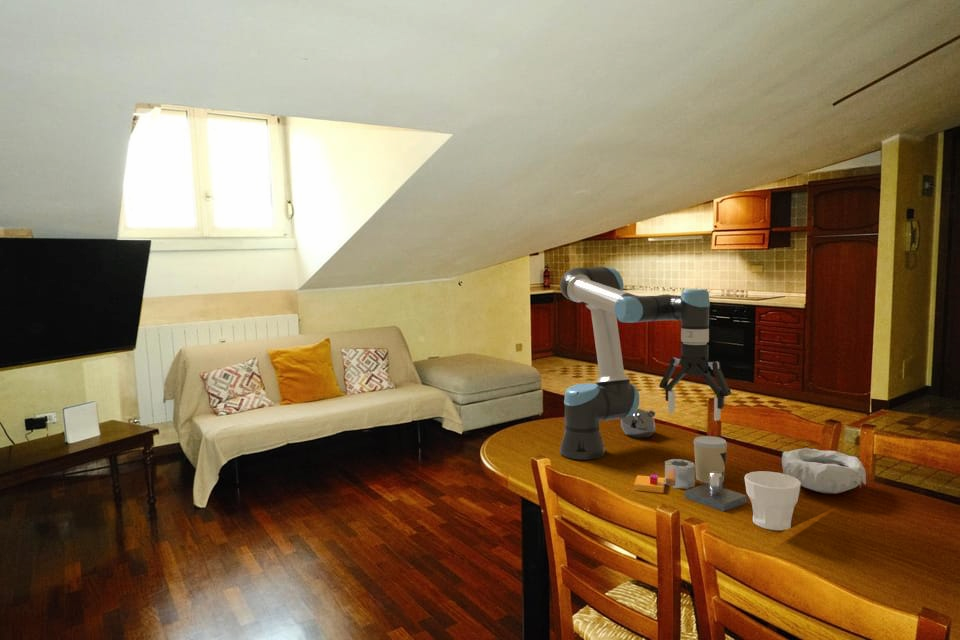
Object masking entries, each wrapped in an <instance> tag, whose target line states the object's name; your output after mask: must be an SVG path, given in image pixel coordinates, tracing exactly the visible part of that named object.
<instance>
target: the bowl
mask: <svg viewBox="0 0 960 640" xmlns="http://www.w3.org/2000/svg"><path fill="white" fill-rule="evenodd" d="M781 466H782V470H783V471H782V474H786V475H790V476H792V477H794V478H797V479H798V480H799V481H800V482H801V485H800V487H803V488H805V489H808V490H811V491H815V492H817V493H818V492H819V493H820V494H835V495H836V494H840V493H844V492H846V491H849V490H852V489H854V488H857V487H858V486H859V487H861V484H862V483H863V484H864V485H866V484H867V481H866V478H867V473H866V469H865V467H864V466H863V463H862V461H860V459H859V457H857V456H853V455H848V454H846V453H842V452H840V451H836V450H819V449H817V448H812V449H811V448H808V447H804V448H799V449H793V450H789V451H786V450H785V451H783V452H782V456H781Z"/></svg>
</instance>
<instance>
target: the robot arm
mask: <svg viewBox="0 0 960 640" xmlns="http://www.w3.org/2000/svg"><path fill="white" fill-rule="evenodd" d="M624 287H625V286H624V281H623V277H622V275H621V273H620V272H619V271H618V270H617V269H615V268H614V267H606V266H593V267H592V266H591V267H590V266H589V267H588V266H587V267H586V266H585V267H573V268H570V269H568V270H567V271H566V272H565V273H564V274H563V275H562V277H561V279H560V281H559V289H560V292H561V293H562V296H564V298H566V299H567V300H569V301H572V302H575V303H585V307H586V308H587V309H588V310H590V314H591V322H592V328H593V336H594V344H595V351H596V359H597V360H596V361H597V367H598V373H599V374H598V375H599V377H598V379H597V380H596V382H595V383H593V382H587V383H577V384H574V385H571V386H569V387H567V389H566V390H564V391H565V392H564V400H563V404H564V433H563V437H562V440H561V444H560V446H559V454H560V455H561V456H563V457H565V458H568V459H572V460H595V459H601V457H603V456H605V453H606V452H605V451H606V450H605V448H606V447H605V445H604V442H603V439H602V436H601V432H600V422H603V421H611V420H621V419H623V418H626V417H630V416H632V415H634V414H635V412H636V410H637V409H638V408H639V406H640V393H639V390H638V389H637V387H636V385H634V384H632V383H631V382H630V381H631V380H630V377H629V376H627V375H626V374H625V369H624V364H623V363H624V362H623V355H622V348H621V347H622V346H621V341H620V340H621V339H620V333H619V326H618V321H619V322H621V323H624V324H625V323H628V324H629V323H630V324H633V323H644V322H645V323H646V322H658V321H659V322H660V321H661V322H662V321H677V322H678V321H679V322H681V323H680V329H681V330H680V341H681V342H682V343H681V344H680V358H678V357H672V358H670V359H669V363H668V364H669V366H668V367H667V369H666V372H665V373H664V375H663V377H662V379H661V381H660V383H659V385H658V387H659V388H661V389H664V391H665V401H666V402H667V403H668V405H667V414H672V413H674V412H676V411H675V407H676V406H675V405H676V404H675V403H676V397H675V396H676V390H675V389H674V387H675V386H676V385H677V384H678V383H679V382H680V381H681V380H682V379H683V377H685V376H686V375H687V376H694V377H701V378H702V379H704V381H705V382H706V384H707V385H708V386H709V388H710V389H711V390H712V391H713V392H714V394H715V397H714V399H713V405H714V406H713V421H719V420H721V411H722V409H724V408H725V407H724V406H725V397H728V396H731V395H732V391H731V389H730V386H729V384H728V382H727V380H726V378H725V376H724V373H723V372H722V370H721V362H720V361H718V360H717V361H710V360H709V349H710V348H709V347H710V345H709V344H708V343H709V341H710V326H709V325H710V307H711V305H710V304H711V302H710V294H709V293H710V292H709V291H708V290H707V289H704V288H699V289H698V288H691V289H689V288H688V289H687V288H686V289H683V290H682V291H681V295H676V294H666V293H664V294H663V293H662V294H658V295H645V296H644V295H640V296H639V295H636V294H632V293H629V292H627V291H624V289H625V288H624ZM679 365H680V367H681V369H680V370H679V371H678V373H677V374H676V375H675V376H674V377H673V378H672V376H673V374H674V372H675V370H676V368H677V366H679ZM709 367H710V369H711V370H712V372H713V374H714V376H715V379H716V380H715V379H714V378H713V376H712V374H711V372H710V371H709V370H708V369H709ZM671 378H672V379H671ZM670 379H671V381H670Z"/></svg>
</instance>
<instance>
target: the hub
mask: <svg viewBox="0 0 960 640" xmlns="http://www.w3.org/2000/svg"><path fill="white" fill-rule="evenodd" d="M664 478H665V486H668V487H671V488H674V489H685V490H689V489H692V488H695V487H696V469H695V462H692V461H690V460H686V459H680V458H678V459H677V458H672V459H668V460H665V461H664Z"/></svg>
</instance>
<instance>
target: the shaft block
mask: <svg viewBox="0 0 960 640" xmlns="http://www.w3.org/2000/svg"><path fill="white" fill-rule="evenodd" d="M684 498H685V499H687V500H689V501H693V502H696V503H699V504H701V505H704V506H706V507H708V508H709V507H710V508H712V509H715V510H718V511H721V512H722V513H723V512H726V511H727V512H728V511H729V510H732V509H734V508H735V509H736V508H738V507H740V506H743V505H746V504H747V501H748V500H747V498H748V495H746V494H742V493H740V492H736V491H733V490H732V489H731V490H729V489H727V488H724V487H723V482H722V474H721V473H720V472H710V484H709V483H704V484H701V485H698V486H694V487H691V488H688V489H685V490H684Z"/></svg>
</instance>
